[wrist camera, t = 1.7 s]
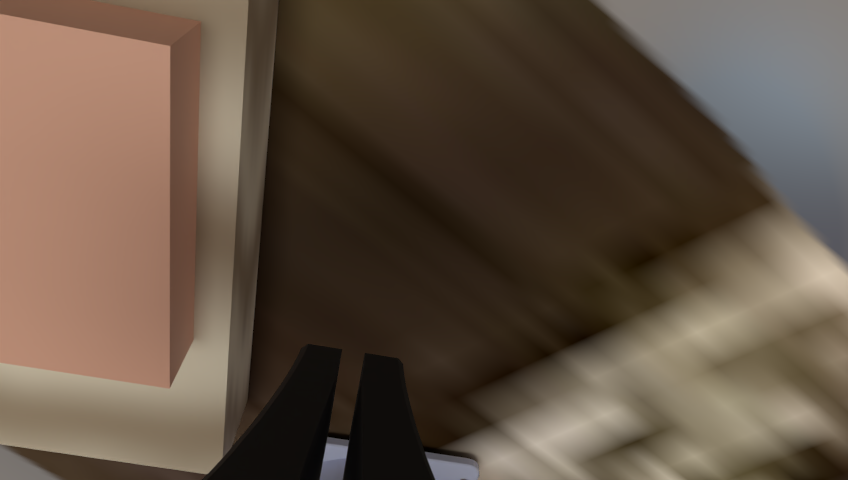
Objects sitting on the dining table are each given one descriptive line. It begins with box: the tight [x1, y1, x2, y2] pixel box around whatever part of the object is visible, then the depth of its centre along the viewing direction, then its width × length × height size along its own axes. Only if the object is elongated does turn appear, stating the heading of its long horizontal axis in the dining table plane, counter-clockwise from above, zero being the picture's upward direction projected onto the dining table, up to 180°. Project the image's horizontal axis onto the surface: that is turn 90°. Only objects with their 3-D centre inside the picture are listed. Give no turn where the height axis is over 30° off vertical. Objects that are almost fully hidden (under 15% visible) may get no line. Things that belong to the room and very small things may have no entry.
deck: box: [0, 0, 279, 474], centre depth 20 cm, size 16×11×4 cm
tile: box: [0, 0, 201, 389], centre depth 16 cm, size 9×6×2 cm, turn 169°
